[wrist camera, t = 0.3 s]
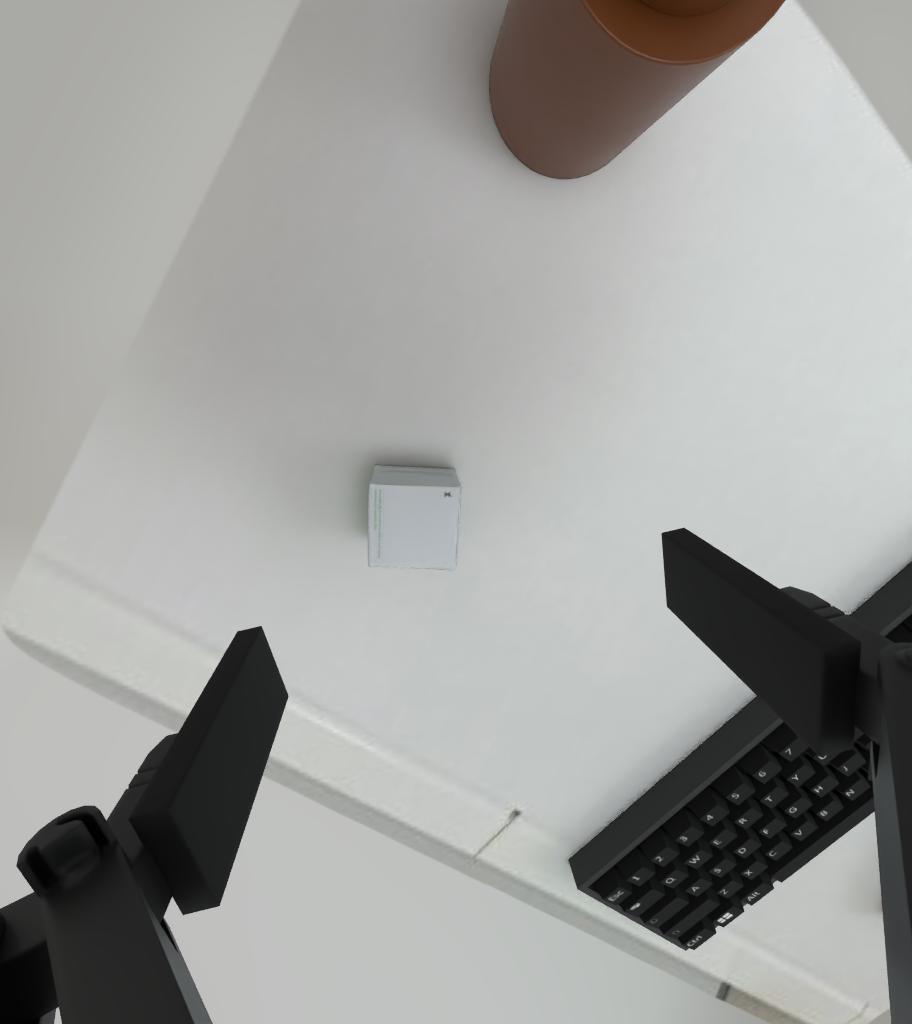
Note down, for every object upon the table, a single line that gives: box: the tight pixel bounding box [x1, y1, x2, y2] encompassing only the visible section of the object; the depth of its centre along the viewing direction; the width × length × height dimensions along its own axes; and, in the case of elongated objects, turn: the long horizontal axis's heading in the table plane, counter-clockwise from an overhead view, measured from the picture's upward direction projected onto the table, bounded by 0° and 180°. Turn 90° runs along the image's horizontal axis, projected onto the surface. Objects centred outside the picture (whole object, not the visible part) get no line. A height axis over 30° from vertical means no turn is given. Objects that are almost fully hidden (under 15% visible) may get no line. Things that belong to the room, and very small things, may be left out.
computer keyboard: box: [569, 563, 912, 951], centre depth 44 cm, size 45×16×4 cm, turn 139°
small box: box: [368, 465, 461, 570], centre depth 33 cm, size 6×6×5 cm
